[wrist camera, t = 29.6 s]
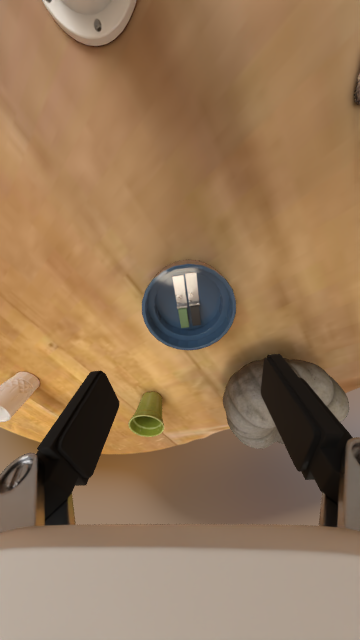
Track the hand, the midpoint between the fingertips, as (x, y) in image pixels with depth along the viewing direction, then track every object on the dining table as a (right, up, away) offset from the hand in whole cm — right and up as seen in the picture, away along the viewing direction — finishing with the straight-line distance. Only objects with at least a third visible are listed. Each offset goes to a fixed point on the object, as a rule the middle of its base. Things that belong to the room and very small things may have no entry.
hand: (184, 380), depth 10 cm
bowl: (+1, +8, +26) cm, 27 cm away
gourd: (+23, -12, +35) cm, 44 cm away
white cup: (-45, -14, +39) cm, 61 cm away
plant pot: (-9, -20, +41) cm, 46 cm away
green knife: (0, +8, +25) cm, 26 cm away
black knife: (+3, +8, +25) cm, 26 cm away
